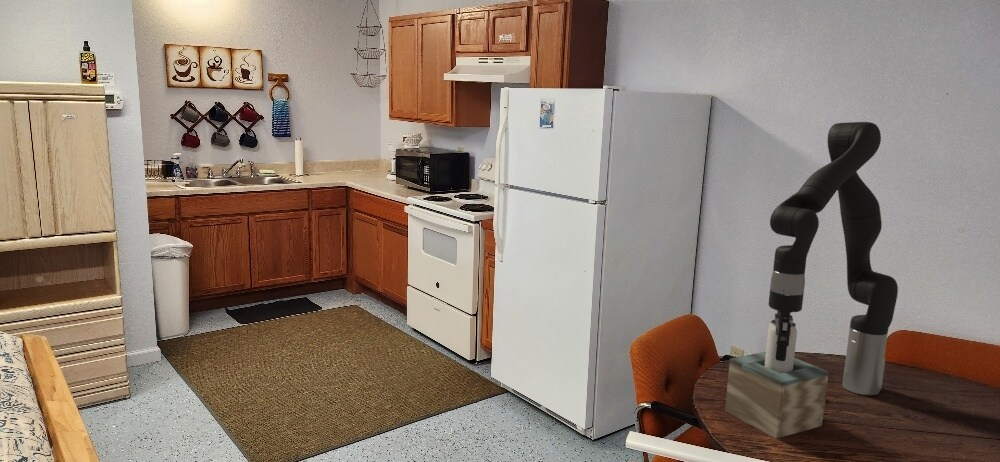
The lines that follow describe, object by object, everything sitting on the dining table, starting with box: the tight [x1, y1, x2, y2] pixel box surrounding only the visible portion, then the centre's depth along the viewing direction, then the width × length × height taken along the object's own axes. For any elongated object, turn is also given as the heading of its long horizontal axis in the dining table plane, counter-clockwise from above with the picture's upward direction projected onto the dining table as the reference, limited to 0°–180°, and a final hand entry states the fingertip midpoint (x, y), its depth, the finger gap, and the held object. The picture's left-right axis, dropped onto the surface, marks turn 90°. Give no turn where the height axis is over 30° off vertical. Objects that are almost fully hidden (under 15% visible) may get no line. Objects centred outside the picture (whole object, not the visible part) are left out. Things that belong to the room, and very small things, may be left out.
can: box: [765, 319, 798, 373], centre depth 167 cm, size 6×6×12 cm
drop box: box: [724, 351, 830, 440], centre depth 169 cm, size 16×16×14 cm
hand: (779, 355), depth 168 cm, fingers closed on can, 6 cm apart
